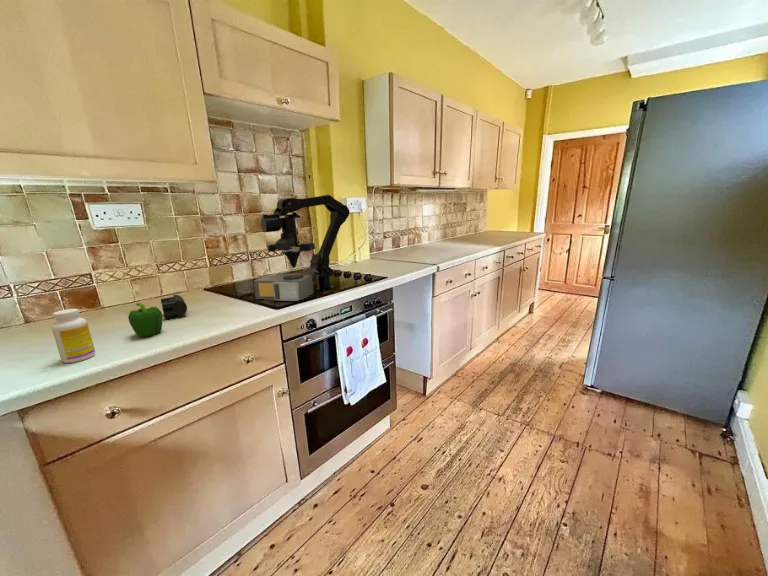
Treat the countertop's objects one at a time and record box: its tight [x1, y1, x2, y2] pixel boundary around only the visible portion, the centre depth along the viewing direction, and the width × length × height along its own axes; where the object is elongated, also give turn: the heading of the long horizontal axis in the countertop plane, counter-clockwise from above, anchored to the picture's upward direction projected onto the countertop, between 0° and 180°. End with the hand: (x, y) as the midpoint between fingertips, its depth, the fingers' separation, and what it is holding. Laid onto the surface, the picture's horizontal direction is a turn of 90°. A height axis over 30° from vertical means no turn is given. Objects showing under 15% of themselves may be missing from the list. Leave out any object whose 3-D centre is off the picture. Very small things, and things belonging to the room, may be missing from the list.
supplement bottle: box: [51, 308, 96, 364], centre depth 85 cm, size 7×7×13 cm
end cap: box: [160, 294, 188, 321], centre depth 118 cm, size 10×7×7 cm
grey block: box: [253, 272, 315, 301], centre depth 138 cm, size 12×20×9 cm, turn 77°
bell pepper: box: [127, 302, 164, 338], centre depth 100 cm, size 8×8×10 cm
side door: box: [273, 282, 300, 302], centre depth 130 cm, size 3×10×7 cm, turn 77°
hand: (294, 267), depth 139 cm, fingers closed
